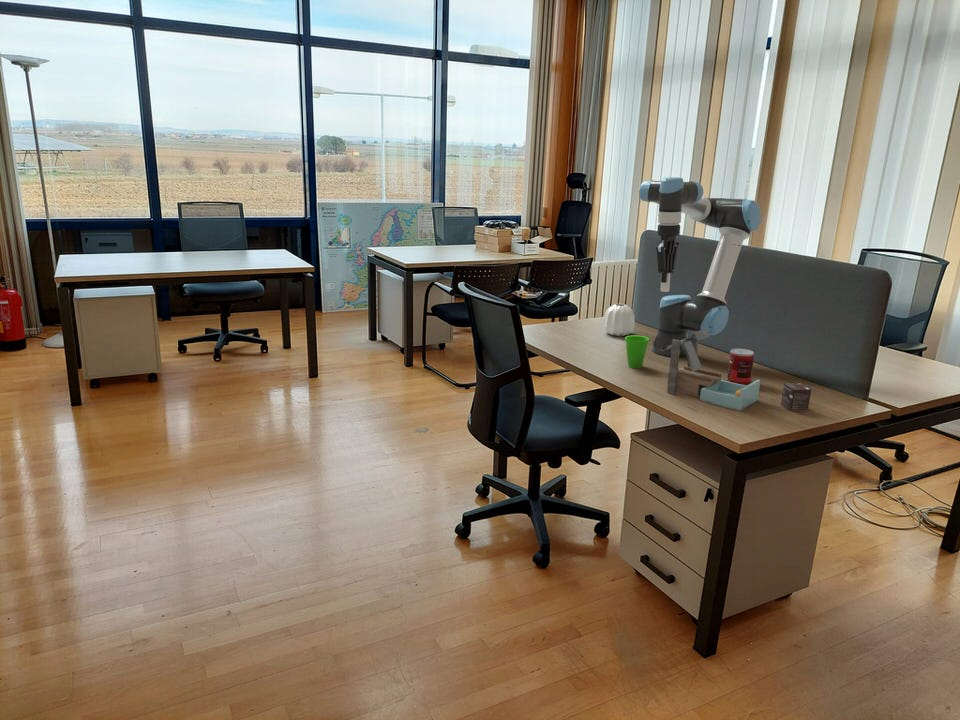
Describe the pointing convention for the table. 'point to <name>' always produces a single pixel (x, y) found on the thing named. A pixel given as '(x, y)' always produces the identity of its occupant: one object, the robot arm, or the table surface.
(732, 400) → the light blue tray
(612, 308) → the vase
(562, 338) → the table surface
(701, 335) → the lever
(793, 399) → the box
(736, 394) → the ball
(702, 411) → the table surface
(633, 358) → the cup
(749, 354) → the canned food
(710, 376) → the grey angular frame
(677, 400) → the table surface
